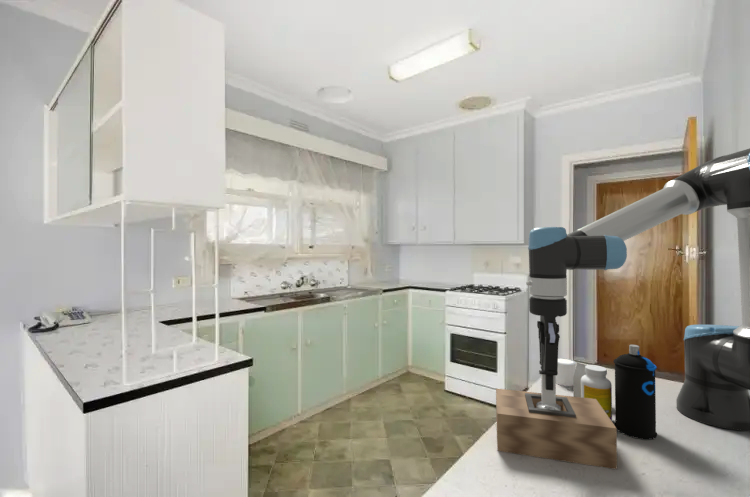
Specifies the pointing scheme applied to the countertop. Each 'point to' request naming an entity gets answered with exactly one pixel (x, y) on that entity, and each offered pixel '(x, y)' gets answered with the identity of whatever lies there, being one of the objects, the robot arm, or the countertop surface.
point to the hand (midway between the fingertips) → (548, 402)
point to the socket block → (555, 429)
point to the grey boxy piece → (578, 379)
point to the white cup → (565, 372)
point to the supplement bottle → (597, 387)
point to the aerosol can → (635, 395)
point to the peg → (548, 406)
